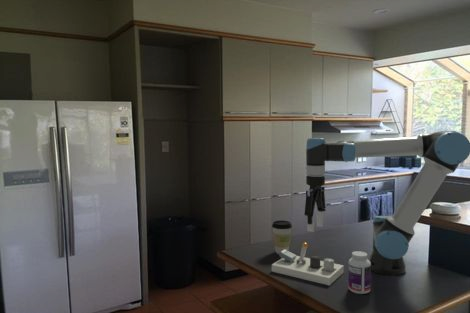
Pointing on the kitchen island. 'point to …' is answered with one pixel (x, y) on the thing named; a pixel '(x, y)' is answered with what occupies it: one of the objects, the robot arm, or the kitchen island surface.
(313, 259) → the button black
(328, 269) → the button grey
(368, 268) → the pill bottle
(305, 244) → the lever
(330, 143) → the robot arm
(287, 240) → the coffee cup
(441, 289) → the kitchen island surface
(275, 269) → the panel
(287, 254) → the slate blue block
